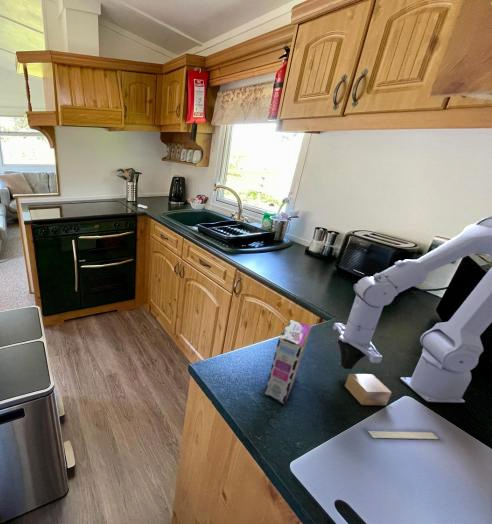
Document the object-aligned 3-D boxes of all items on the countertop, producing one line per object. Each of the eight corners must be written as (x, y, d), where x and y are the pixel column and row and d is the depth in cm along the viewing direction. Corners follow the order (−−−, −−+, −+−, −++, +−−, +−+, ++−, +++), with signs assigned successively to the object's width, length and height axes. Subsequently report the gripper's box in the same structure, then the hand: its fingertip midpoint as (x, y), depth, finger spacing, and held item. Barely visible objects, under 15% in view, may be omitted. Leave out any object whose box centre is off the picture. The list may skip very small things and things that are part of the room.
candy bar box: (285, 405, 67) (302, 346, 61) (263, 394, 70) (277, 337, 64) (297, 379, 75) (312, 325, 70) (277, 370, 78) (290, 318, 73)
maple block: (367, 386, 74) (372, 374, 73) (386, 405, 68) (392, 392, 67) (344, 386, 74) (349, 373, 72) (361, 404, 68) (366, 391, 67)
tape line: (431, 432, 62) (431, 432, 62) (438, 439, 60) (438, 438, 60) (367, 431, 61) (367, 431, 61) (373, 437, 60) (373, 437, 60)
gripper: (328, 308, 80) (316, 349, 84) (367, 340, 66) (350, 386, 71) (353, 309, 80) (339, 350, 84) (397, 340, 66) (378, 387, 71)
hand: (346, 367), depth 77 cm, fingers closed
